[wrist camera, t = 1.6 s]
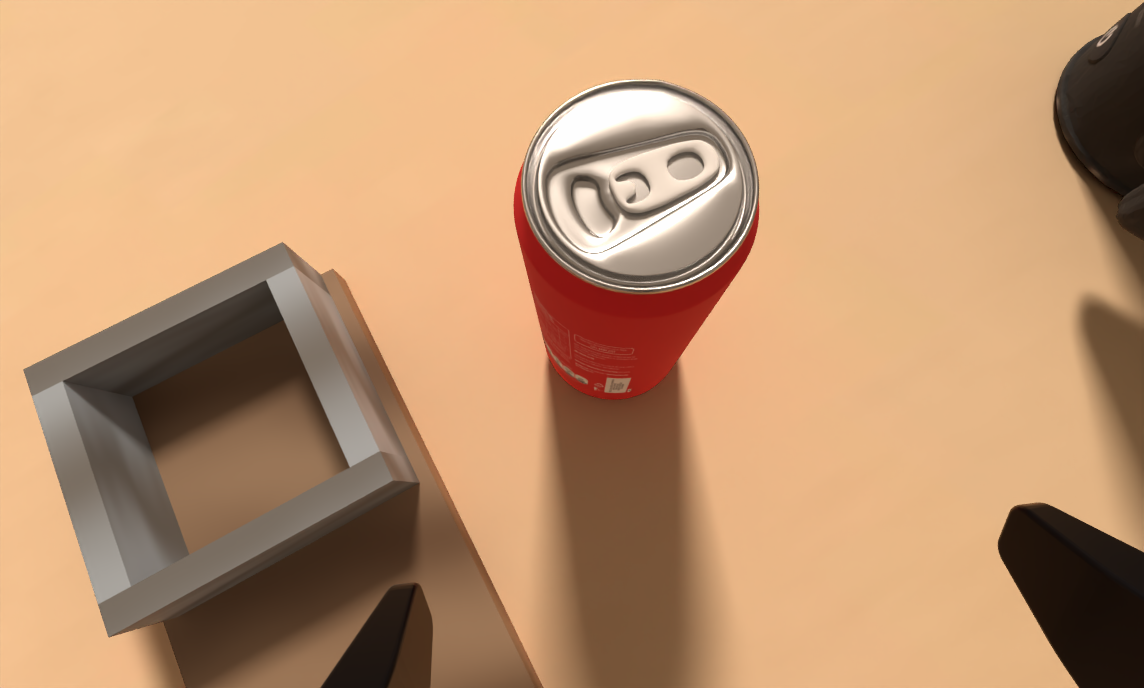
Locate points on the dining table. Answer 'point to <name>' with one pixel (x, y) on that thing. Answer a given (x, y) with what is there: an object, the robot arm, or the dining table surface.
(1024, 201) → the dining table surface
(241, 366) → the socket board
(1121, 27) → the milk frother
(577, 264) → the beverage can
